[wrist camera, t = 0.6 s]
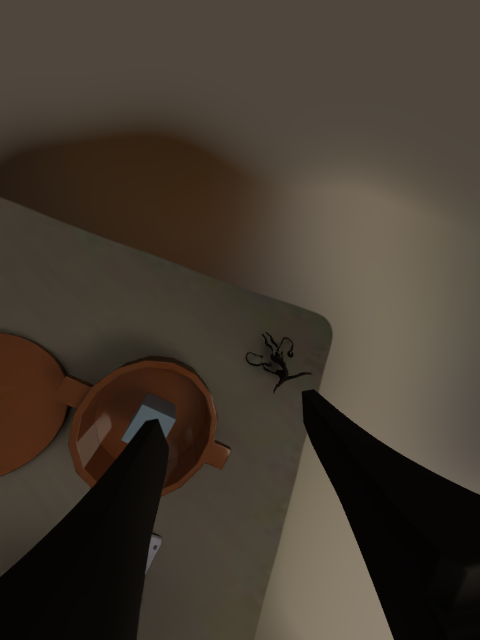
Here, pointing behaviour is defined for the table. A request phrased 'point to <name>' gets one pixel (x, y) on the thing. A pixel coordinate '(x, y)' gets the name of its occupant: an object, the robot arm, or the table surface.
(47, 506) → the table surface
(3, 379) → the lid
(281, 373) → the creature
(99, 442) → the pot
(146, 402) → the block
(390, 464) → the robot arm
